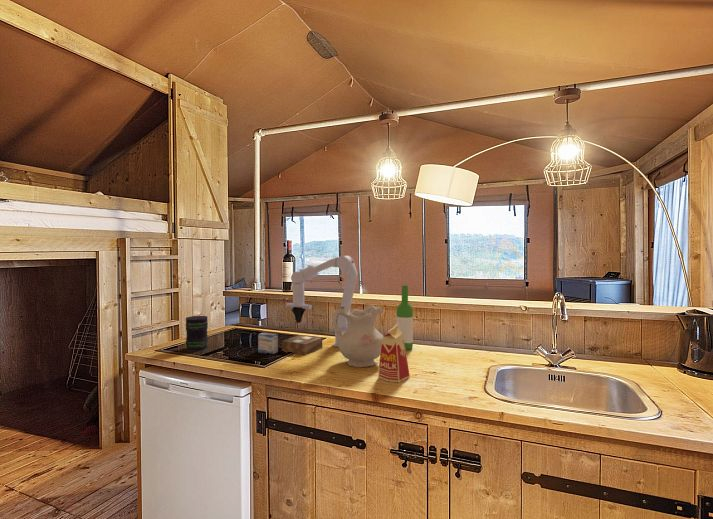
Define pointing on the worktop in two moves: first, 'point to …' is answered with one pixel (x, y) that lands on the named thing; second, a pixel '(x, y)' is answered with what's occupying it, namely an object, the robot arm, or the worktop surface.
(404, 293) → the wine bottle
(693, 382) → the worktop surface
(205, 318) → the storage jar
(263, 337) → the medicine box
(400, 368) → the milk carton
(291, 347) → the socket block
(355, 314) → the ceramic pitcher
